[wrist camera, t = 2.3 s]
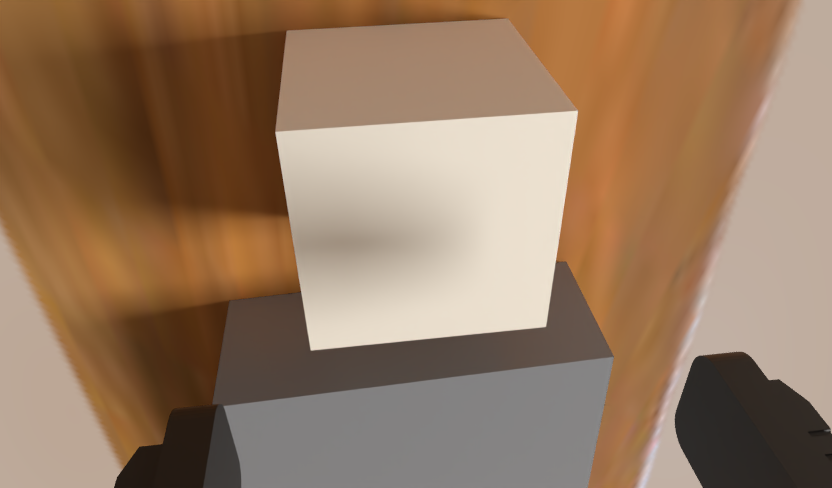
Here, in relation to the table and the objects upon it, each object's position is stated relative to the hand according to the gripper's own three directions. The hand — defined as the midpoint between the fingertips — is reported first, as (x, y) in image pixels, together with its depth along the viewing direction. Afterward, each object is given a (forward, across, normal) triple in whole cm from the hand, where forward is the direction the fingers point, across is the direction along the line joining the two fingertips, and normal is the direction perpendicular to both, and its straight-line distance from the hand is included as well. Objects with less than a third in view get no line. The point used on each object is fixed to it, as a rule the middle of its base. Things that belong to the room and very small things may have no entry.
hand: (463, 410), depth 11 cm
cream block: (+10, 0, 0) cm, 11 cm away
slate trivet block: (+11, 0, +12) cm, 16 cm away
